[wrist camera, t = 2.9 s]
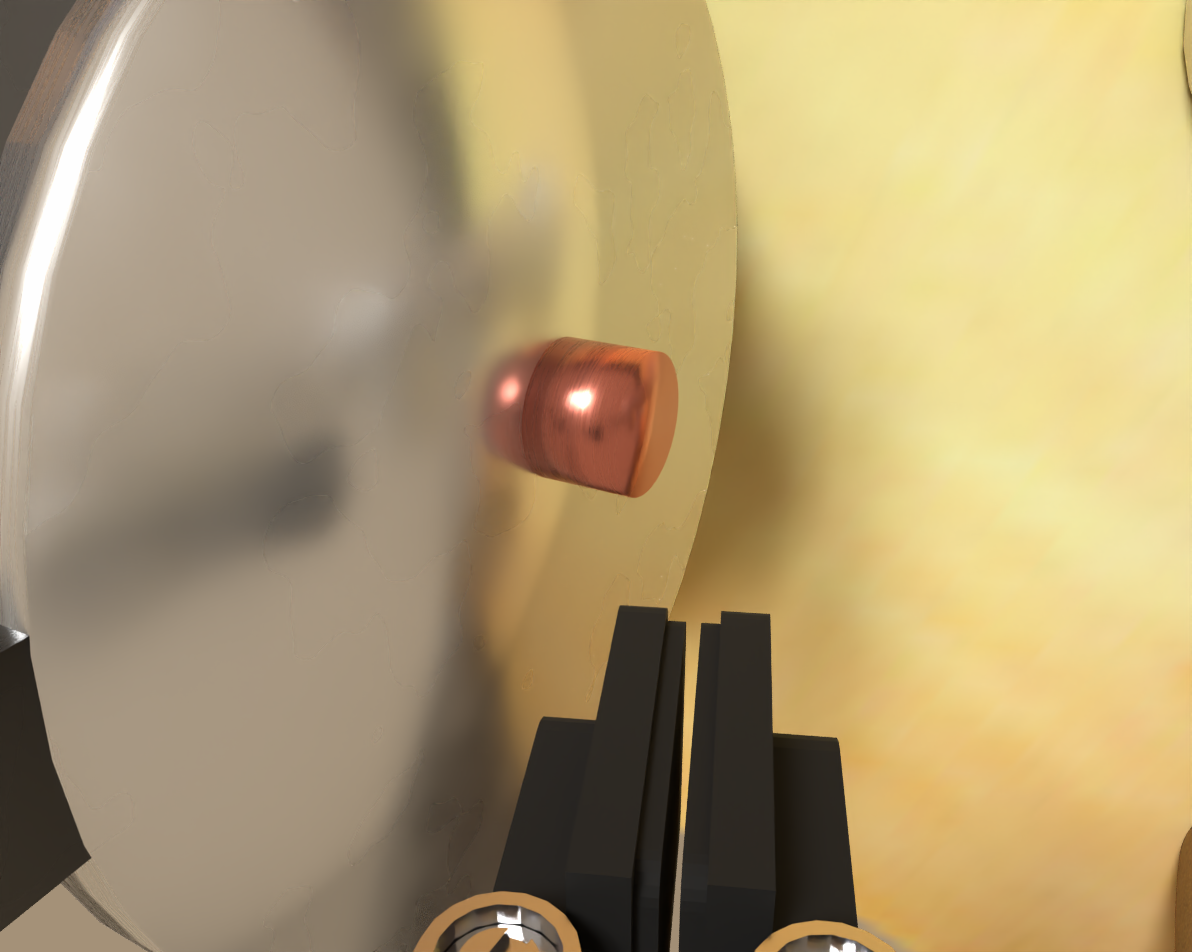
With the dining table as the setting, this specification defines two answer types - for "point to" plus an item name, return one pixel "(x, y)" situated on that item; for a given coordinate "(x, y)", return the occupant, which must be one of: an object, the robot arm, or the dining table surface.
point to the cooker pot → (24, 51)
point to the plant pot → (1184, 898)
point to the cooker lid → (338, 438)
